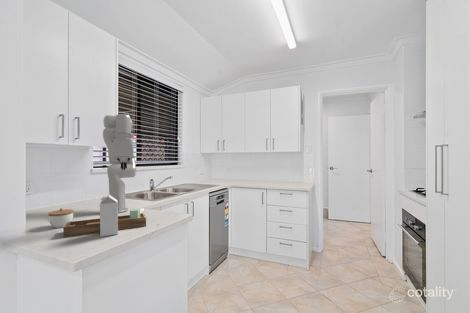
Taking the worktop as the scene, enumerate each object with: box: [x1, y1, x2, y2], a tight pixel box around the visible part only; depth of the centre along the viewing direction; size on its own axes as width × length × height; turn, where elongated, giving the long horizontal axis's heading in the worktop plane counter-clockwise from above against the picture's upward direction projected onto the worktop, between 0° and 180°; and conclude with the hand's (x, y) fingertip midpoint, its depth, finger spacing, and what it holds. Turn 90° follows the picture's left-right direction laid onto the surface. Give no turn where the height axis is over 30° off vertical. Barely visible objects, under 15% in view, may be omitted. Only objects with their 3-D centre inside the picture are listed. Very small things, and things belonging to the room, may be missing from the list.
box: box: [62, 212, 147, 238], centre depth 115 cm, size 10×35×4 cm, turn 116°
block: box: [129, 208, 141, 219], centre depth 121 cm, size 4×4×5 cm
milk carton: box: [99, 193, 119, 238], centre depth 107 cm, size 7×7×19 cm
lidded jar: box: [47, 207, 75, 229], centre depth 120 cm, size 11×11×9 cm
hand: (123, 169), depth 127 cm, fingers closed
